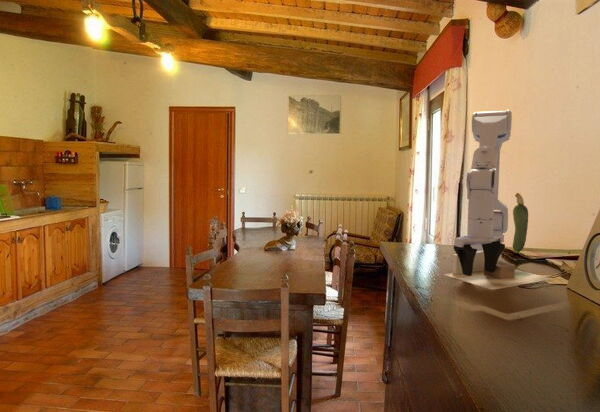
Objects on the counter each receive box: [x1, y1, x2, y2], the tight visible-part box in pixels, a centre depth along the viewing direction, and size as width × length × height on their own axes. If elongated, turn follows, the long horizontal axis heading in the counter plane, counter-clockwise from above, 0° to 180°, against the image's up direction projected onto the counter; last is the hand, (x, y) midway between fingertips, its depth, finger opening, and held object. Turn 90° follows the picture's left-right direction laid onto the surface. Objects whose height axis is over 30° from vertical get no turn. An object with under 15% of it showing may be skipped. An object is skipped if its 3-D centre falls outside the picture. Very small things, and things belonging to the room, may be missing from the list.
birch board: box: [443, 269, 553, 291], centre depth 105 cm, size 15×21×1 cm
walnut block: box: [484, 261, 516, 279], centre depth 106 cm, size 5×5×3 cm
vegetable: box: [512, 192, 529, 254], centre depth 136 cm, size 4×4×20 cm
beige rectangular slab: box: [452, 251, 502, 274], centre depth 111 cm, size 1×16×5 cm, turn 115°
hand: (478, 273), depth 103 cm, fingers open, 7 cm apart
